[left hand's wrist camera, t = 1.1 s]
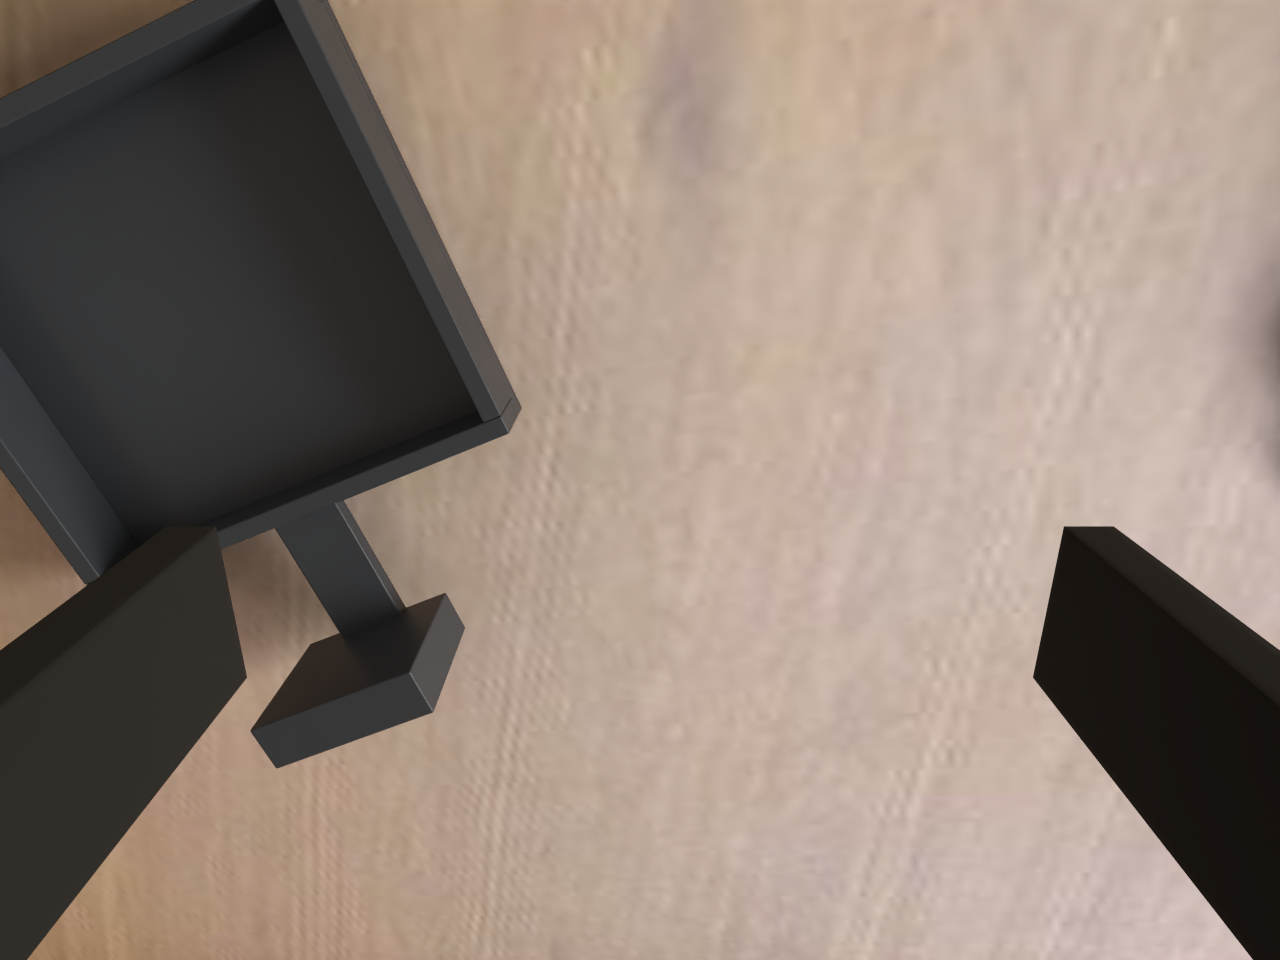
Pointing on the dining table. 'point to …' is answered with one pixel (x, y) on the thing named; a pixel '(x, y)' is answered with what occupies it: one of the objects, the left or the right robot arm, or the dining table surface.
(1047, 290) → the dining table surface
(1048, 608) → the left robot arm
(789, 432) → the dining table surface
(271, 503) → the tray
